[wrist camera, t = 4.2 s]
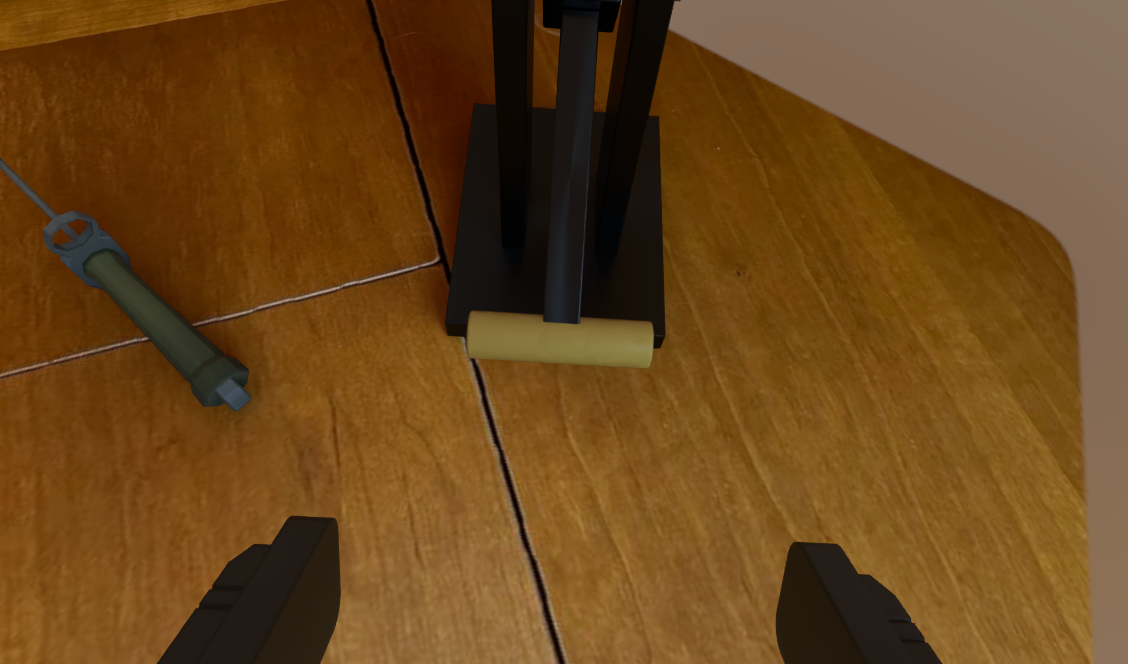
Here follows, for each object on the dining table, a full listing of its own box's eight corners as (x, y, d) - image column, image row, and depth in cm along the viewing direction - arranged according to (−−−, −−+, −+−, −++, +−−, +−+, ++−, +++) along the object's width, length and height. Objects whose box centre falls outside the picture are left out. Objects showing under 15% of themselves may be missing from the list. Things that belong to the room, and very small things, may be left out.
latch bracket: (660, 349, 30) (773, 79, 16) (447, 336, 29) (387, 51, 16) (655, 133, 35) (736, -200, 22) (475, 120, 35) (447, -225, 21)
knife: (-54, 145, 31) (-143, 63, 26) (-9, 119, 31) (-87, 35, 27) (235, 435, 28) (193, 401, 23) (276, 399, 29) (244, 359, 24)
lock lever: (642, 364, 22) (654, 373, 20) (471, 354, 22) (463, 361, 20) (671, -54, 22) (687, -97, 19) (495, -68, 22) (489, -113, 19)
